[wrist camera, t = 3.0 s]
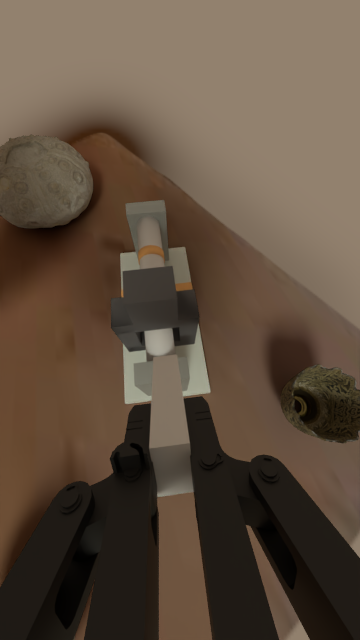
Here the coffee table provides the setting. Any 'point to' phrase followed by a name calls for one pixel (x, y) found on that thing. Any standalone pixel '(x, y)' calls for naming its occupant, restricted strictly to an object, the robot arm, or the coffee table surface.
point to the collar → (153, 308)
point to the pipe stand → (138, 365)
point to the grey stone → (42, 182)
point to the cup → (323, 404)
